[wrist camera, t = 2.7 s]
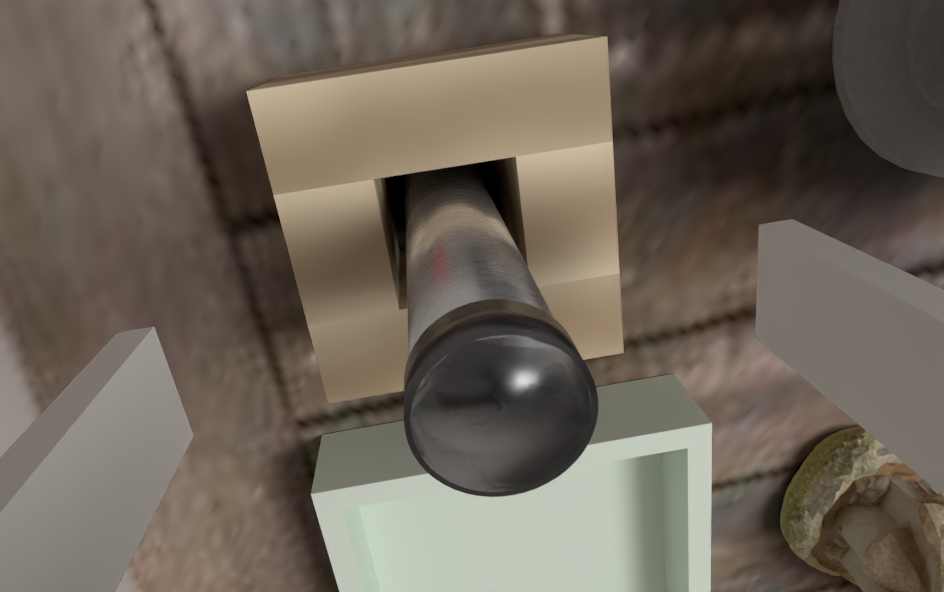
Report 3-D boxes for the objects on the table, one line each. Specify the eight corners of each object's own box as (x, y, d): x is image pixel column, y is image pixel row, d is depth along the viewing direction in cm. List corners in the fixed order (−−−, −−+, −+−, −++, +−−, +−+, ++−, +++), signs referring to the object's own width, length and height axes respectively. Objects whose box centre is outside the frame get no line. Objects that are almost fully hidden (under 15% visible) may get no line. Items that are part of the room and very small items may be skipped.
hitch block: (282, 75, 23) (246, 91, 18) (558, 33, 24) (607, 36, 18) (342, 326, 27) (328, 403, 22) (578, 287, 28) (623, 352, 22)
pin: (395, 155, 25) (386, 347, 10) (478, 142, 25) (592, 313, 10) (409, 235, 26) (421, 511, 11) (489, 222, 26) (603, 479, 11)
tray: (322, 434, 29) (310, 494, 25) (673, 373, 30) (711, 423, 26) (389, 680, 35) (387, 756, 32) (677, 625, 36) (709, 694, 32)
